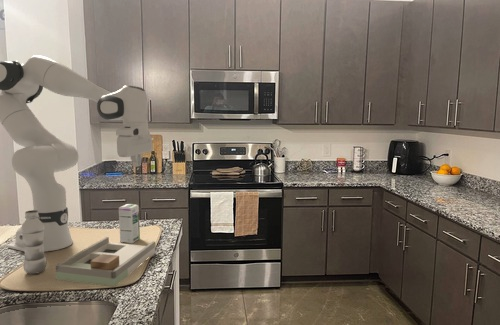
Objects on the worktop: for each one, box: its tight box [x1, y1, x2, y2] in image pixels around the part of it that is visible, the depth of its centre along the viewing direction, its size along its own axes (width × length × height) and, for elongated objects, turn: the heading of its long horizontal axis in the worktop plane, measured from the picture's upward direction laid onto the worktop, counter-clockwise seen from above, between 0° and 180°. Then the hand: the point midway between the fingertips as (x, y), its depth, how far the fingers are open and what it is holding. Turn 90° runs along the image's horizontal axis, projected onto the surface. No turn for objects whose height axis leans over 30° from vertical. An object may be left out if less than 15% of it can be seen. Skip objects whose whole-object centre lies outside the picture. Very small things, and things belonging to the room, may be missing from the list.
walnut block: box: [90, 254, 119, 270], centre depth 116 cm, size 6×6×4 cm
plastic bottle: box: [20, 209, 48, 275], centre depth 119 cm, size 6×7×20 cm
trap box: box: [54, 236, 156, 287], centre depth 126 cm, size 20×27×4 cm
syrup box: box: [118, 203, 141, 244], centre depth 149 cm, size 6×6×14 cm
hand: (136, 166), depth 141 cm, fingers closed
